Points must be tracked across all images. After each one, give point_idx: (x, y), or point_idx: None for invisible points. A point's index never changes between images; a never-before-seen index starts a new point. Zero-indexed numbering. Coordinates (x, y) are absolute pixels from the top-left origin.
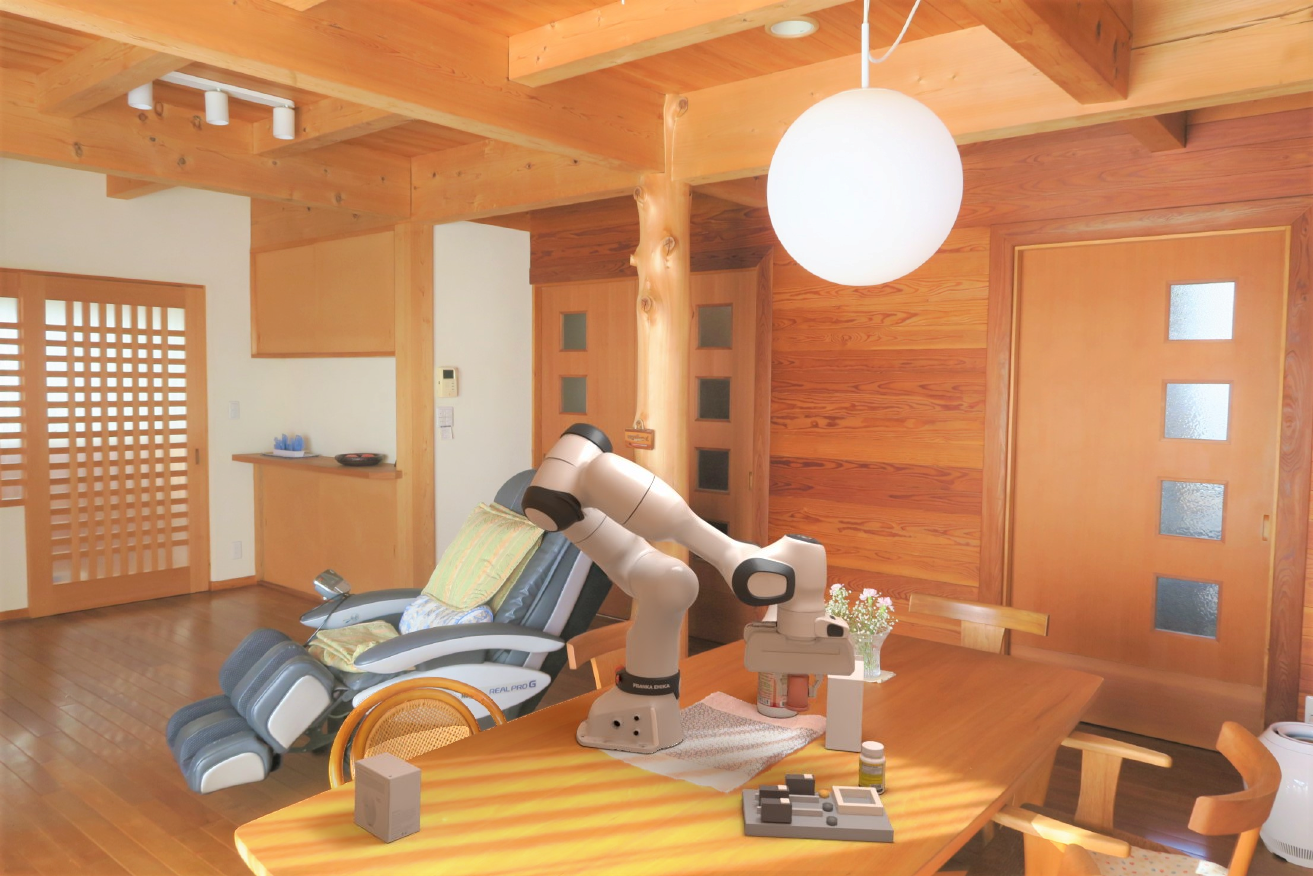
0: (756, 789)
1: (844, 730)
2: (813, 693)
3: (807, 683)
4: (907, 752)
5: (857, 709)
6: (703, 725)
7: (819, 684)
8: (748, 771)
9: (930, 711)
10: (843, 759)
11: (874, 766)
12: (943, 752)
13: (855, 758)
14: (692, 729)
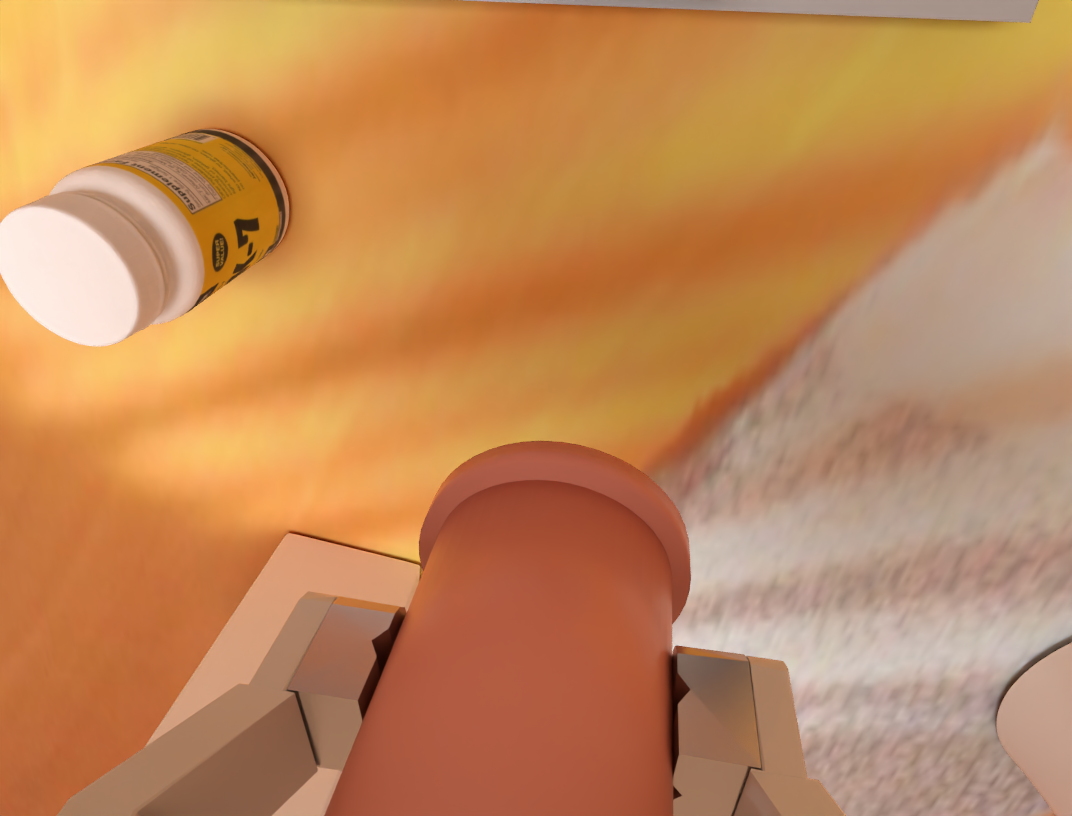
0: (926, 18)
1: None
2: (322, 634)
3: (348, 777)
4: (123, 525)
5: (208, 689)
6: (871, 757)
7: (174, 741)
8: (816, 390)
9: (95, 747)
10: (355, 485)
11: (114, 164)
12: (5, 519)
13: (308, 491)
14: (932, 738)
